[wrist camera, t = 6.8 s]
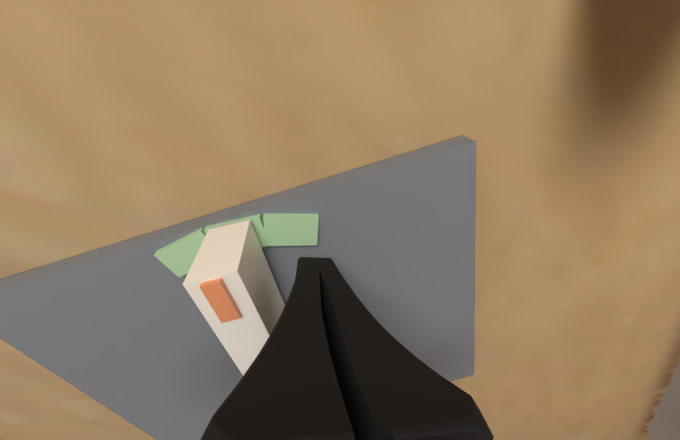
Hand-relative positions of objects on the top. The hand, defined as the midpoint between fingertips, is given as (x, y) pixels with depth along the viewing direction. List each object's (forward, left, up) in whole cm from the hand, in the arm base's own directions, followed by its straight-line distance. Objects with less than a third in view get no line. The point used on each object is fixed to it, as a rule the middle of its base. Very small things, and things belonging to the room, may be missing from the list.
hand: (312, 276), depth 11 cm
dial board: (-6, +3, -2) cm, 7 cm away
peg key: (-3, +3, -1) cm, 4 cm away
